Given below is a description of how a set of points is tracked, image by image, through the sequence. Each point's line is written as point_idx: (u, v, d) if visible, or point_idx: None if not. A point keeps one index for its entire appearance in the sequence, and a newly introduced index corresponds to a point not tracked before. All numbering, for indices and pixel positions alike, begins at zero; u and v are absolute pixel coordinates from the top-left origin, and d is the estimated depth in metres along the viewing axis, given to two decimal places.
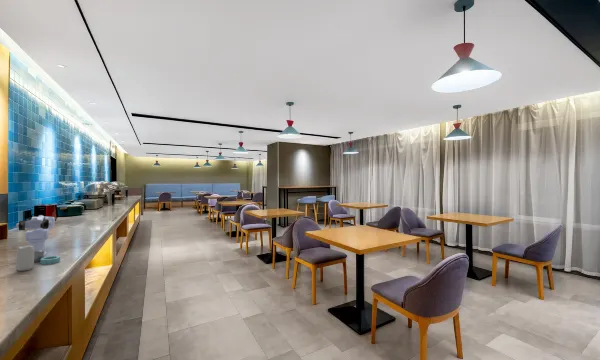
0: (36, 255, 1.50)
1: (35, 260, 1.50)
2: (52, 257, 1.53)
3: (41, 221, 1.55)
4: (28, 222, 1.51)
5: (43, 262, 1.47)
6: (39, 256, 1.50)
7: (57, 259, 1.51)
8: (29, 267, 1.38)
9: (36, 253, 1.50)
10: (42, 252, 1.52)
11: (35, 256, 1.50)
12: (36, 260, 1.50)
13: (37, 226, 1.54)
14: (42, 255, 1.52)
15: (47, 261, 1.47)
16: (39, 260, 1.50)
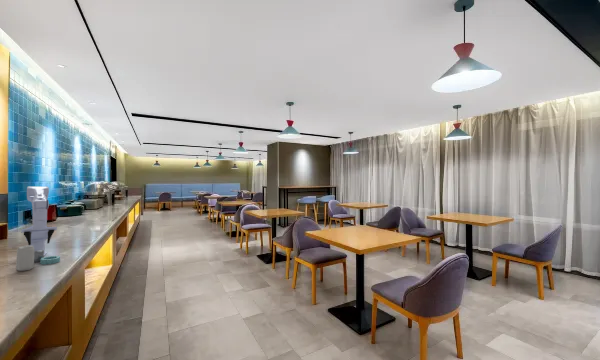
0: (36, 255, 1.50)
1: (35, 260, 1.50)
2: (52, 257, 1.53)
3: (46, 229, 1.52)
4: (33, 230, 1.49)
5: (43, 262, 1.47)
6: (39, 256, 1.50)
7: (57, 259, 1.51)
8: (29, 267, 1.38)
9: (36, 253, 1.50)
10: (42, 252, 1.52)
11: (35, 256, 1.50)
12: (36, 260, 1.50)
13: None
14: (42, 255, 1.52)
15: (47, 261, 1.47)
16: (39, 260, 1.50)
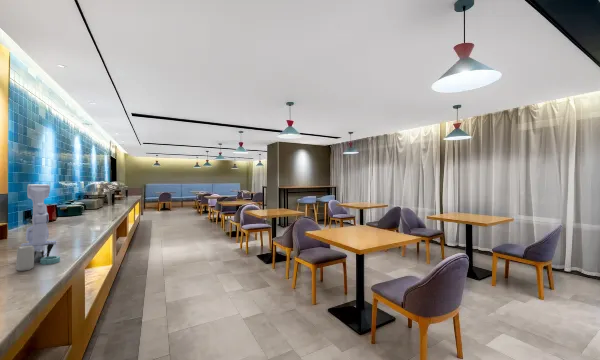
0: (36, 255, 1.50)
1: (35, 260, 1.50)
2: (52, 257, 1.53)
3: (45, 243, 1.52)
4: (32, 245, 1.49)
5: (43, 262, 1.47)
6: (39, 256, 1.50)
7: (57, 259, 1.51)
8: (29, 267, 1.38)
9: (36, 253, 1.50)
10: (42, 252, 1.52)
11: (35, 256, 1.50)
12: (36, 260, 1.50)
13: None
14: (42, 255, 1.52)
15: (47, 261, 1.47)
16: (39, 260, 1.50)
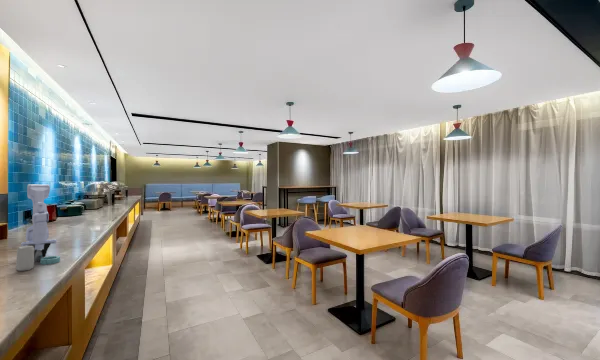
0: (37, 253, 1.50)
1: (35, 259, 1.50)
2: (52, 257, 1.53)
3: (45, 242, 1.52)
4: (32, 243, 1.49)
5: (43, 262, 1.47)
6: (39, 255, 1.50)
7: (57, 259, 1.51)
8: (29, 267, 1.38)
9: (36, 252, 1.50)
10: (42, 251, 1.52)
11: (35, 255, 1.50)
12: (36, 259, 1.50)
13: None
14: (42, 254, 1.52)
15: (47, 261, 1.47)
16: (39, 259, 1.50)
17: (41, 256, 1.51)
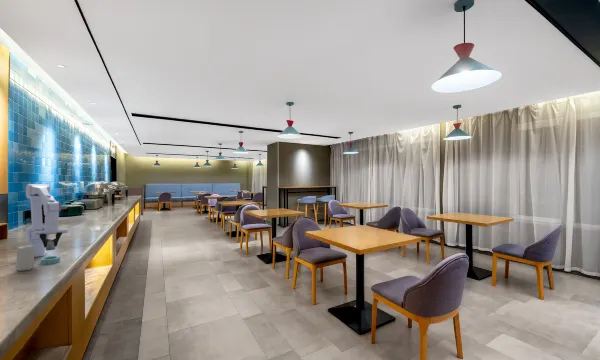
0: (48, 243, 1.49)
1: (47, 248, 1.49)
2: (52, 257, 1.53)
3: (57, 232, 1.51)
4: (44, 233, 1.48)
5: (43, 262, 1.47)
6: (51, 244, 1.50)
7: (57, 259, 1.51)
8: (29, 267, 1.38)
9: (48, 241, 1.49)
10: (54, 240, 1.51)
11: (47, 244, 1.49)
12: (48, 248, 1.49)
13: None
14: (54, 243, 1.51)
15: (47, 261, 1.47)
16: (51, 248, 1.50)
17: (53, 245, 1.50)
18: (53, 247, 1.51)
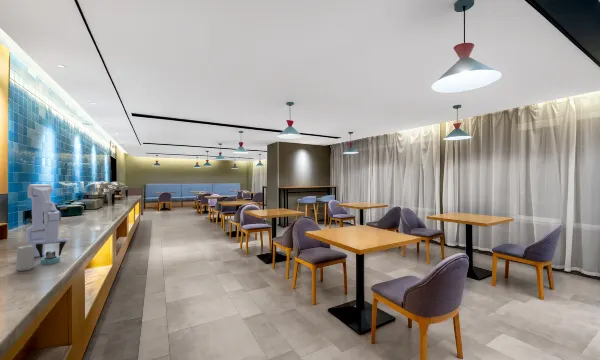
0: (48, 256, 1.49)
1: None
2: None
3: (57, 241, 1.51)
4: (44, 242, 1.48)
5: (43, 262, 1.47)
6: (51, 257, 1.50)
7: (57, 259, 1.51)
8: (29, 267, 1.38)
9: (48, 254, 1.49)
10: (54, 253, 1.51)
11: (47, 257, 1.49)
12: None
13: None
14: (54, 256, 1.51)
15: (47, 261, 1.47)
16: None
17: (53, 258, 1.50)
18: None
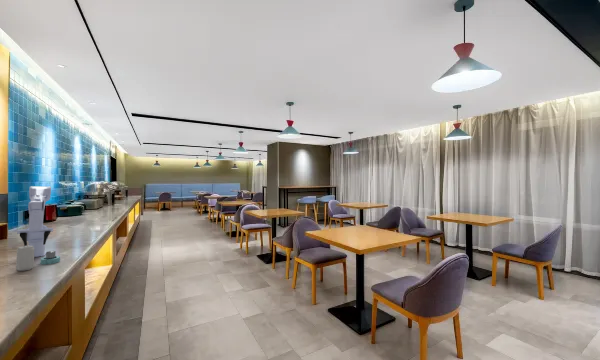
0: (48, 256, 1.49)
1: None
2: None
3: (42, 230, 1.52)
4: (29, 231, 1.49)
5: (43, 262, 1.47)
6: (51, 257, 1.50)
7: (57, 259, 1.51)
8: (29, 267, 1.38)
9: (48, 254, 1.49)
10: (54, 253, 1.51)
11: (47, 257, 1.49)
12: None
13: None
14: (54, 256, 1.51)
15: (47, 261, 1.47)
16: None
17: (53, 258, 1.50)
18: None
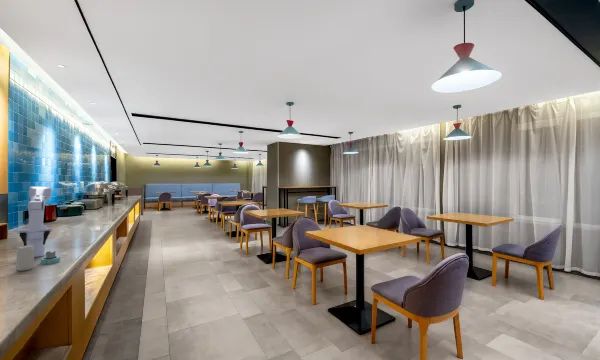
0: (48, 256, 1.49)
1: None
2: None
3: (41, 230, 1.52)
4: None
5: (43, 262, 1.47)
6: (51, 257, 1.50)
7: (57, 259, 1.51)
8: (29, 267, 1.38)
9: (48, 254, 1.49)
10: (54, 253, 1.51)
11: (47, 257, 1.49)
12: None
13: None
14: (54, 256, 1.51)
15: (47, 261, 1.47)
16: None
17: (53, 258, 1.50)
18: None
